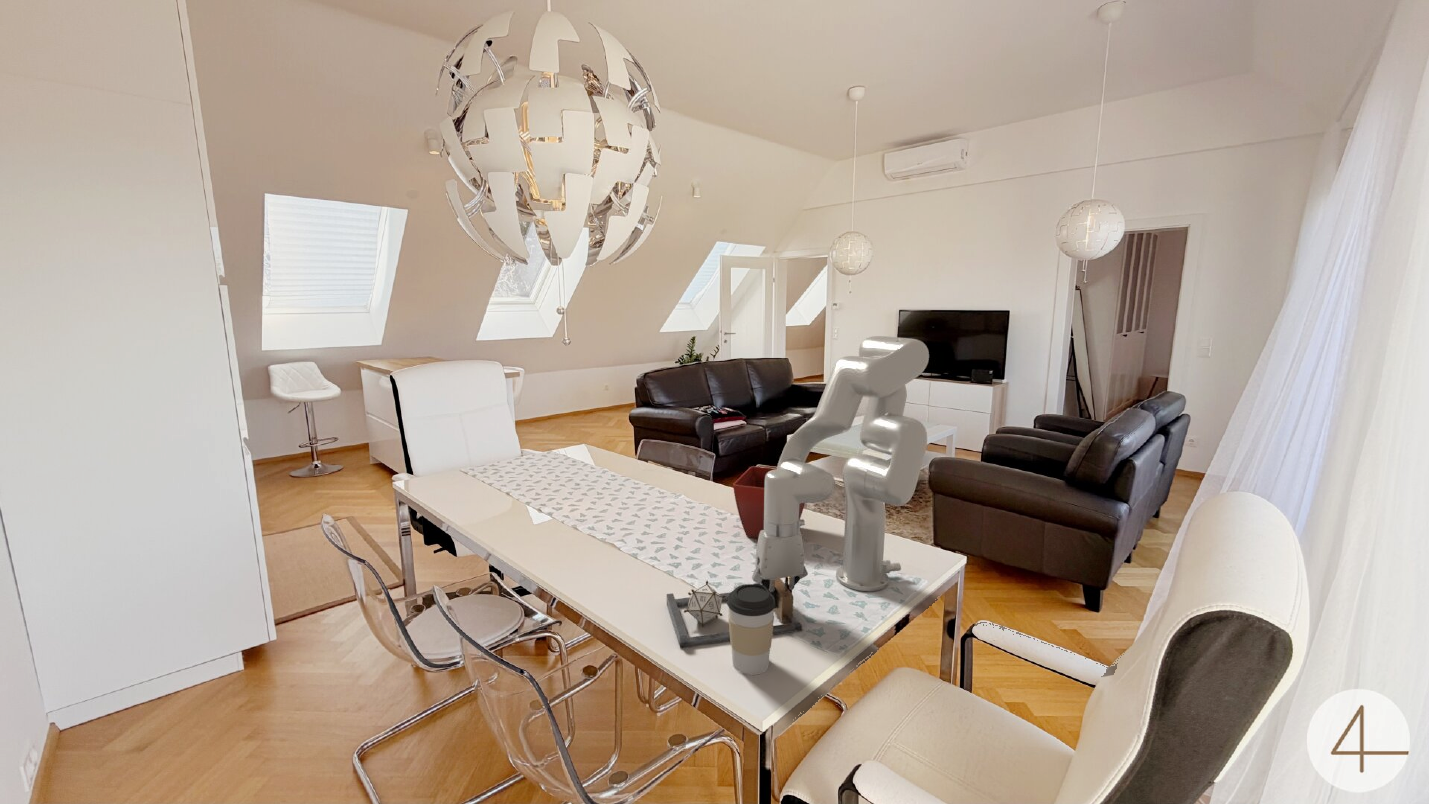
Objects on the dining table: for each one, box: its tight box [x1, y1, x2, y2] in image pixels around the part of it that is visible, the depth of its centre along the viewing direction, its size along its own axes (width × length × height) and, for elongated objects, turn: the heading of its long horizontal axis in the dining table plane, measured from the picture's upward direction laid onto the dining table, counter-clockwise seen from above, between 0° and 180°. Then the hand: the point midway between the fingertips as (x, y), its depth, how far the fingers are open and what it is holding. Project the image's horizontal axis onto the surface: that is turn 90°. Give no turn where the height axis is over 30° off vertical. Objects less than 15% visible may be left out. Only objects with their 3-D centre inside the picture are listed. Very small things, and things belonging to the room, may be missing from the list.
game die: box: [683, 580, 726, 629], centre depth 124 cm, size 9×8×10 cm
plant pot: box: [732, 465, 806, 539], centre depth 171 cm, size 19×19×17 cm
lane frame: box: [666, 578, 803, 648], centre depth 126 cm, size 26×17×6 cm, turn 104°
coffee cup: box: [726, 582, 775, 676], centre depth 109 cm, size 9×9×15 cm
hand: (779, 604), depth 129 cm, fingers closed on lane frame, 2 cm apart
